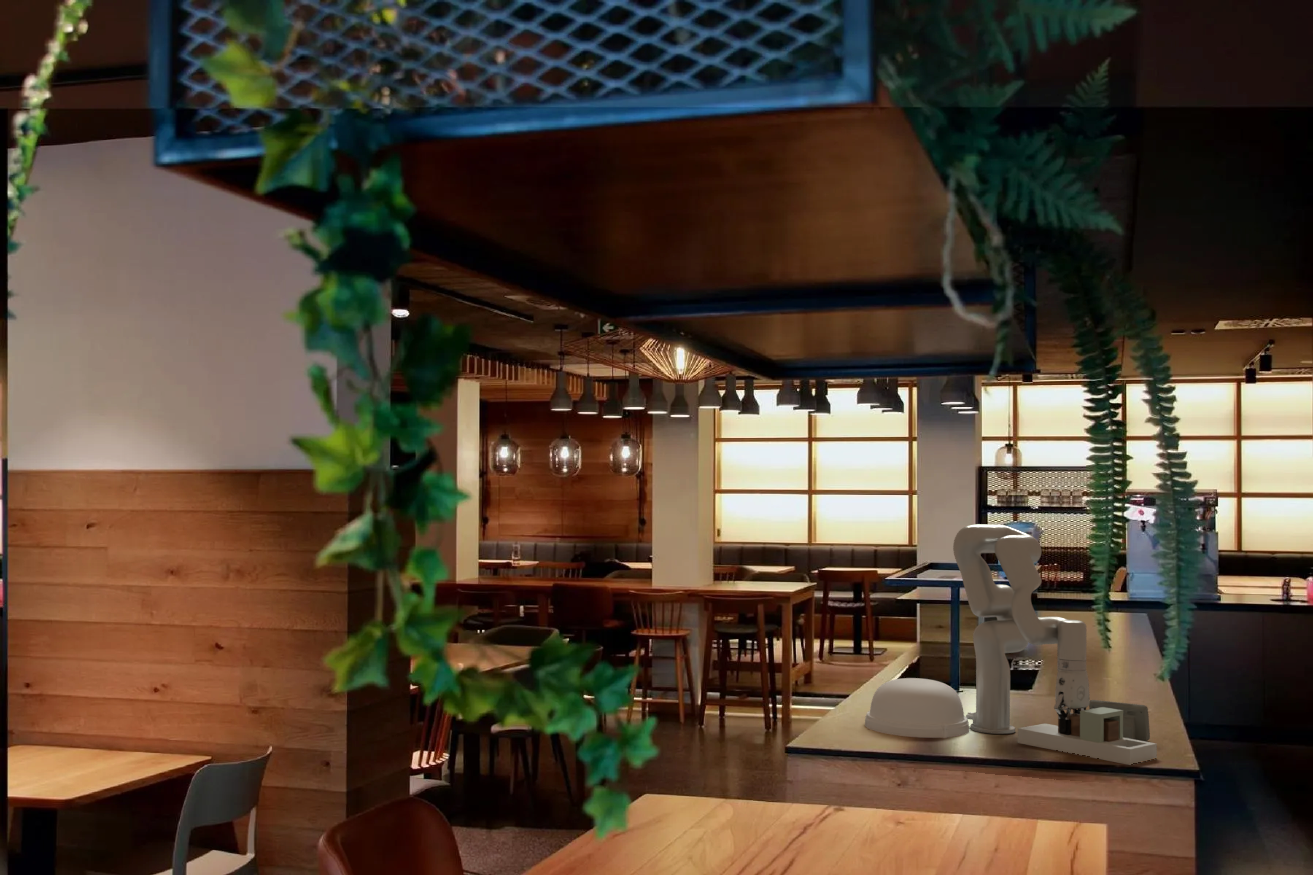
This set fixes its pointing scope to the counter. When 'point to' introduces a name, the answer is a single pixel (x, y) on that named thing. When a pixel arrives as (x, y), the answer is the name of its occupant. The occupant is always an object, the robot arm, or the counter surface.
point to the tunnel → (1098, 723)
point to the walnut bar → (1109, 727)
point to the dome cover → (917, 709)
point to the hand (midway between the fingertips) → (1071, 731)
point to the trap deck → (1087, 745)
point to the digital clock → (1129, 718)
